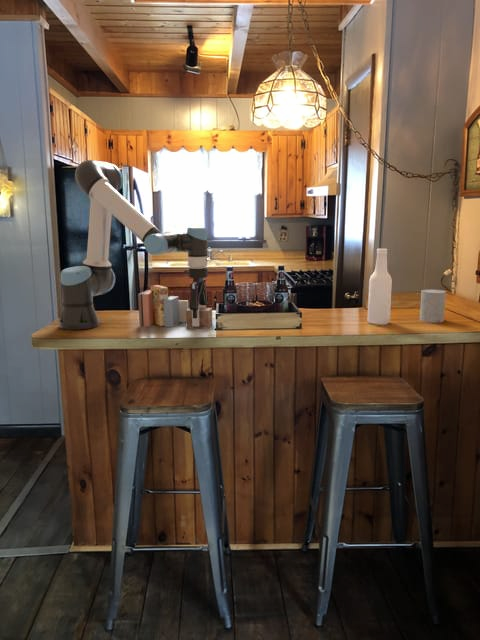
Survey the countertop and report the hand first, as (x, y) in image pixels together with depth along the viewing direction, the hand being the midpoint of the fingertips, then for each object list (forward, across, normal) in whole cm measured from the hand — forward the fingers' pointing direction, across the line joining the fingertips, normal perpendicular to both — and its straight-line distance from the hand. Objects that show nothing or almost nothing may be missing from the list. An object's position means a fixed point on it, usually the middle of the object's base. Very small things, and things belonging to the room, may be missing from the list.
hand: (199, 323), depth 205 cm
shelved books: (+1, 0, +16) cm, 17 cm away
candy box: (+1, 0, +16) cm, 17 cm away
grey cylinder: (+1, +28, -92) cm, 97 cm away
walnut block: (+1, 0, 0) cm, 1 cm away
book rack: (+1, +2, +16) cm, 16 cm away
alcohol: (+1, +18, -70) cm, 73 cm away
